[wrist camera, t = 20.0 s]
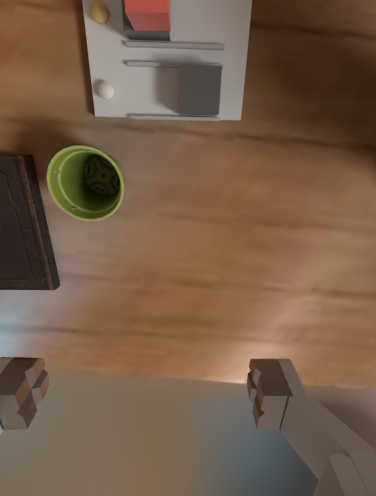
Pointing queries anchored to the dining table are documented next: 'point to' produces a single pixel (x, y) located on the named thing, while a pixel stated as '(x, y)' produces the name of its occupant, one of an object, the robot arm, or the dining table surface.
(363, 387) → the dining table surface
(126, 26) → the block
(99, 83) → the breaker panel
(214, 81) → the block
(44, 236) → the hardcover book
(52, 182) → the plant pot
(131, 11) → the red block
